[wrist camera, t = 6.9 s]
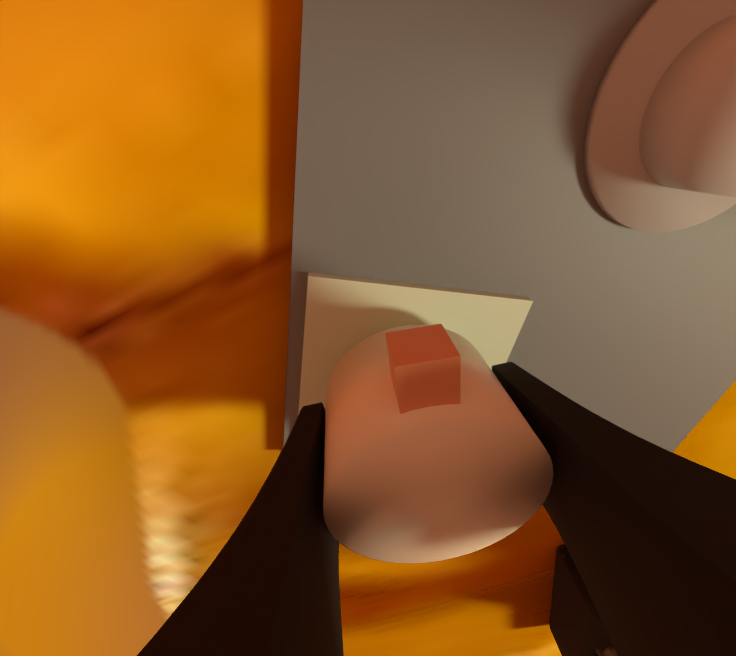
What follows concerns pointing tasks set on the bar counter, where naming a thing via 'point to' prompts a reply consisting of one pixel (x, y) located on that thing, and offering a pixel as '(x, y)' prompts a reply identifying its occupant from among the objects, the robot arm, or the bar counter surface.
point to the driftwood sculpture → (576, 613)
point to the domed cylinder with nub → (426, 450)
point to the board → (523, 194)
